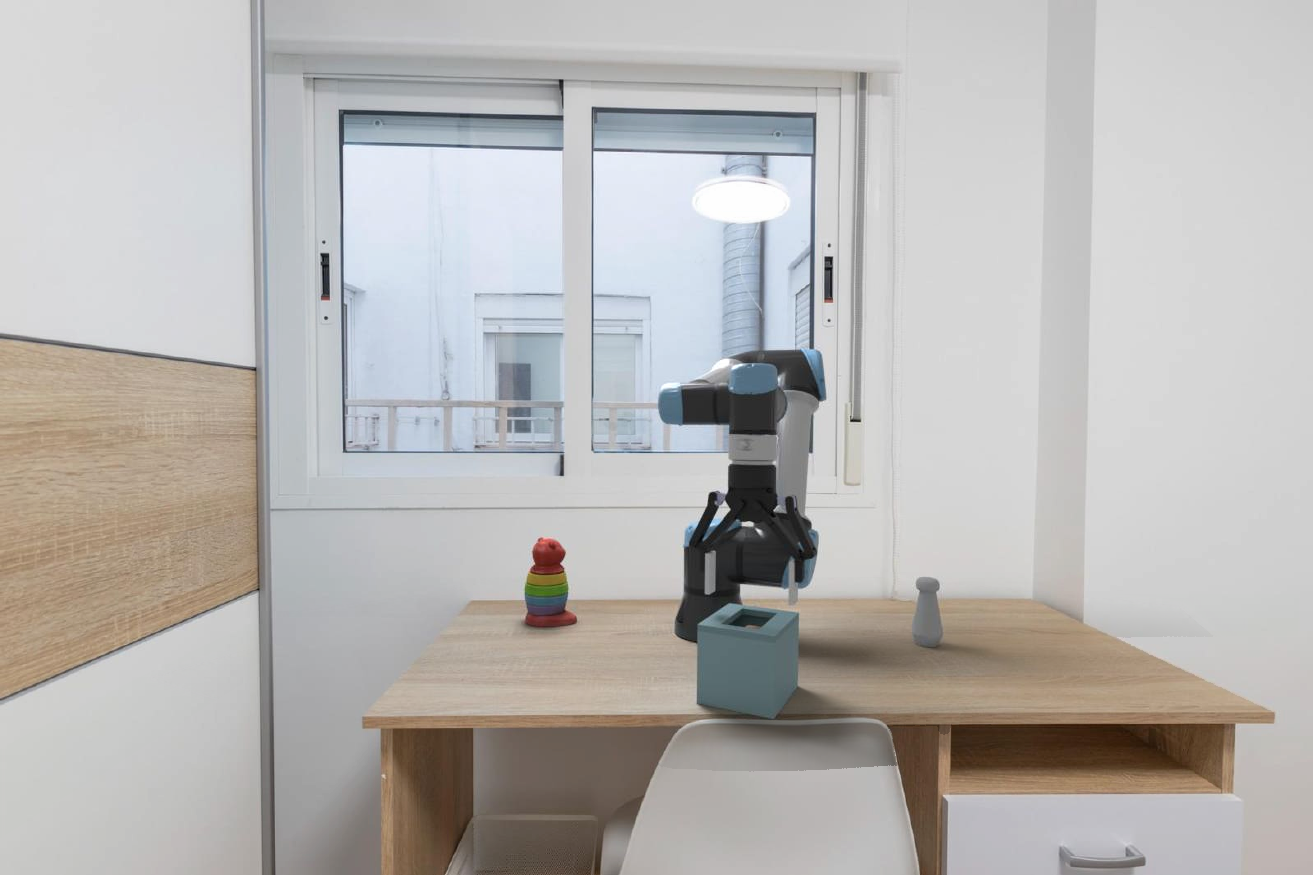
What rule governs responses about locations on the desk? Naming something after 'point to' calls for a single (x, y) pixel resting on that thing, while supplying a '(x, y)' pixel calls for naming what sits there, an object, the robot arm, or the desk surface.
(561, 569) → the stacking bear
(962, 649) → the desk surface
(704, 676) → the coin box
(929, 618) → the salt shaker
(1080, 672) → the desk surface
